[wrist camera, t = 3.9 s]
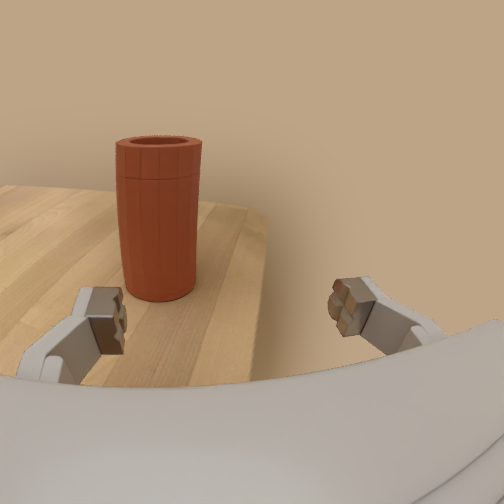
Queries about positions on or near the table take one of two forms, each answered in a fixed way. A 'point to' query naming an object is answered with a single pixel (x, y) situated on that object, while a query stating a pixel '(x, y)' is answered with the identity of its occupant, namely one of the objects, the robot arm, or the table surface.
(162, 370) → the table surface
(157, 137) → the jar
